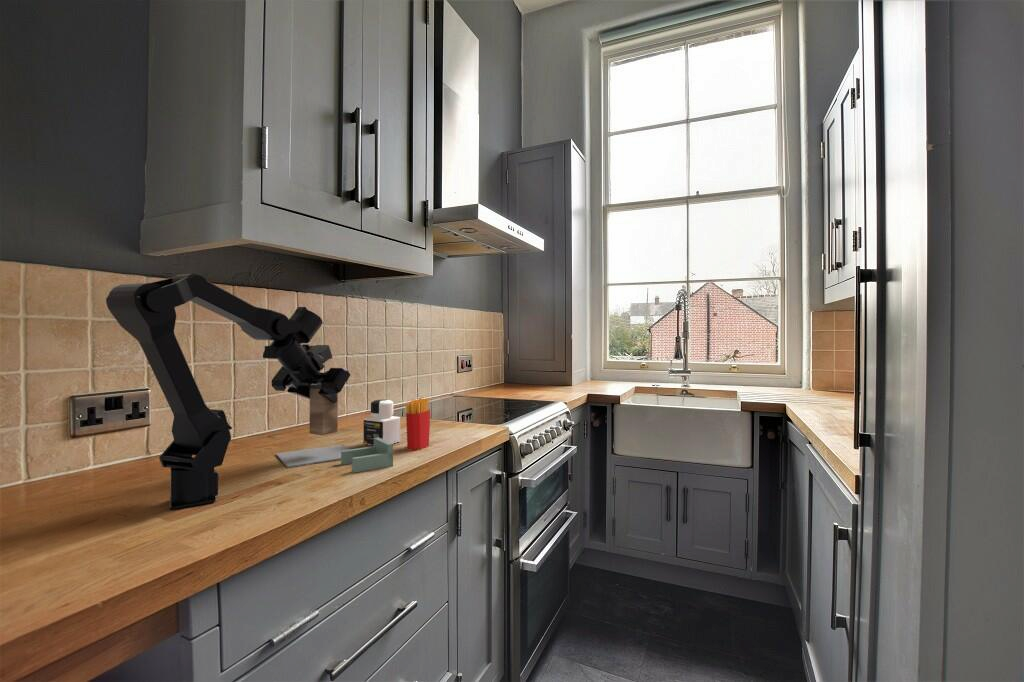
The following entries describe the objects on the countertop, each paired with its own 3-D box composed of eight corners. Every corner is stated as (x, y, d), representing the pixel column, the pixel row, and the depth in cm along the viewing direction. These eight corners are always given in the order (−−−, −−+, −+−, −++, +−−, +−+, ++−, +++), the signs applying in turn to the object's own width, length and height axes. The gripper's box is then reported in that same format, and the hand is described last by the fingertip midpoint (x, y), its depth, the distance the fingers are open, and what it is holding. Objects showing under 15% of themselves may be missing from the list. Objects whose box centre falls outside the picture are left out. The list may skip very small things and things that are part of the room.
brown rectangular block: (322, 435, 109) (323, 381, 109) (309, 433, 111) (309, 380, 111) (337, 431, 114) (337, 379, 113) (324, 430, 115) (324, 378, 115)
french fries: (420, 442, 128) (420, 396, 128) (433, 444, 126) (433, 397, 126) (401, 450, 119) (401, 400, 119) (415, 451, 117) (415, 401, 117)
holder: (353, 472, 99) (353, 449, 99) (341, 463, 106) (341, 442, 106) (392, 466, 104) (393, 444, 104) (378, 457, 111) (378, 437, 111)
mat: (287, 467, 102) (287, 466, 102) (275, 455, 114) (275, 453, 114) (359, 457, 112) (359, 455, 112) (341, 446, 123) (341, 444, 123)
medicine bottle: (362, 444, 125) (363, 400, 125) (381, 439, 132) (381, 397, 132) (382, 447, 122) (382, 402, 122) (400, 442, 128) (400, 399, 128)
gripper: (345, 333, 106) (373, 377, 116) (281, 333, 111) (313, 375, 122) (321, 369, 98) (353, 413, 109) (253, 367, 104) (290, 409, 114)
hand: (327, 401), depth 114 cm, fingers closed on brown rectangular block, 5 cm apart
